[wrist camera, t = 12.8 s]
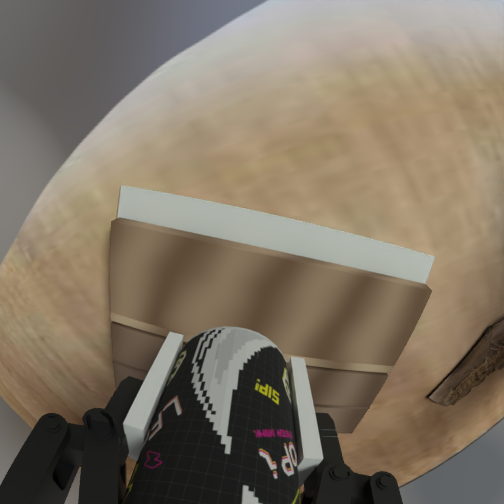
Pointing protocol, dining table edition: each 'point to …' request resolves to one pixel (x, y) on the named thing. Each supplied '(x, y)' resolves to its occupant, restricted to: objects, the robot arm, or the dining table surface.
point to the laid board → (320, 379)
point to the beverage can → (221, 427)
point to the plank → (260, 296)
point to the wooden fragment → (473, 367)
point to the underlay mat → (272, 233)
